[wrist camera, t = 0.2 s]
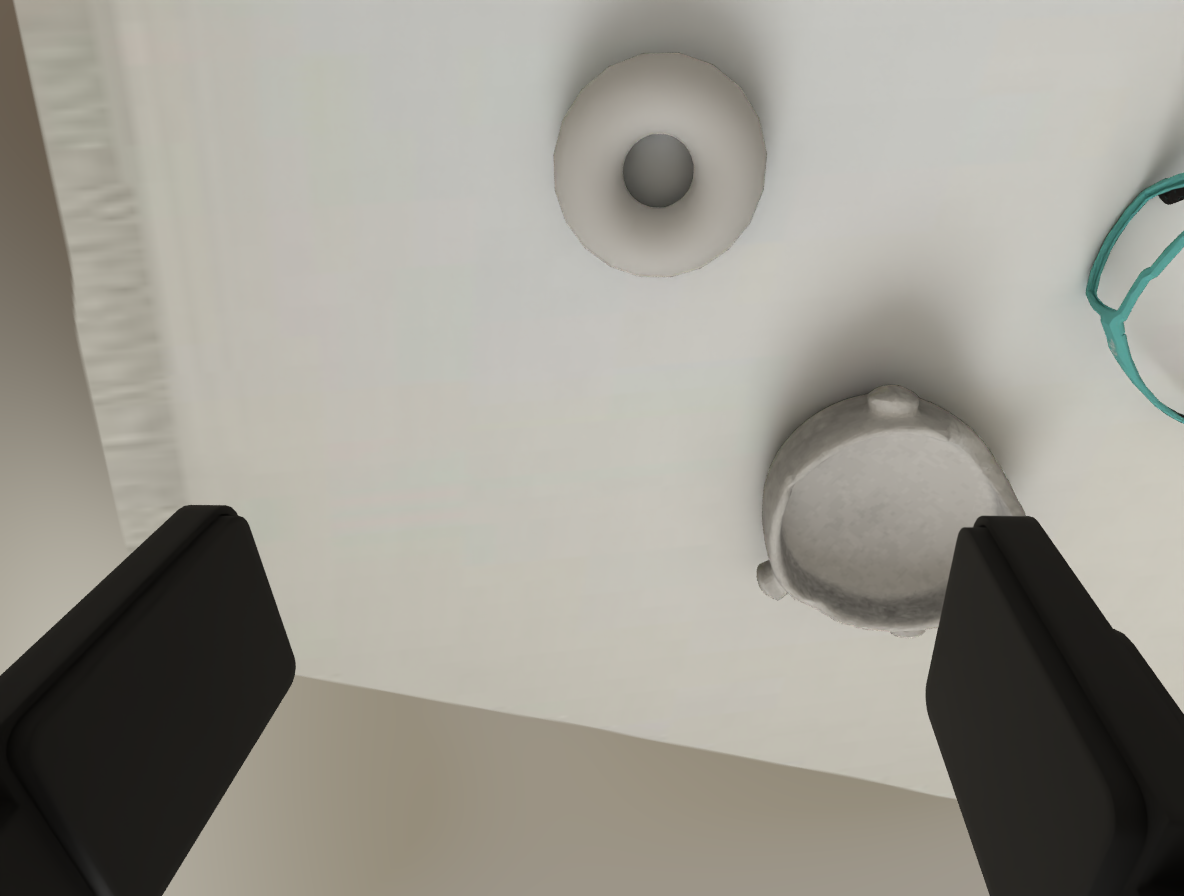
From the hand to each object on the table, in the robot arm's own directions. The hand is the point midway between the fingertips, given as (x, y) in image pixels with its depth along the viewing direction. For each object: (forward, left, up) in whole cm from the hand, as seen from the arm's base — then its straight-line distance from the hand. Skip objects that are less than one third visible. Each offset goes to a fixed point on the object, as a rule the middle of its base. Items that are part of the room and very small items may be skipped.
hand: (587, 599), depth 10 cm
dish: (+18, +12, -31) cm, 38 cm away
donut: (-1, 0, -31) cm, 31 cm away
